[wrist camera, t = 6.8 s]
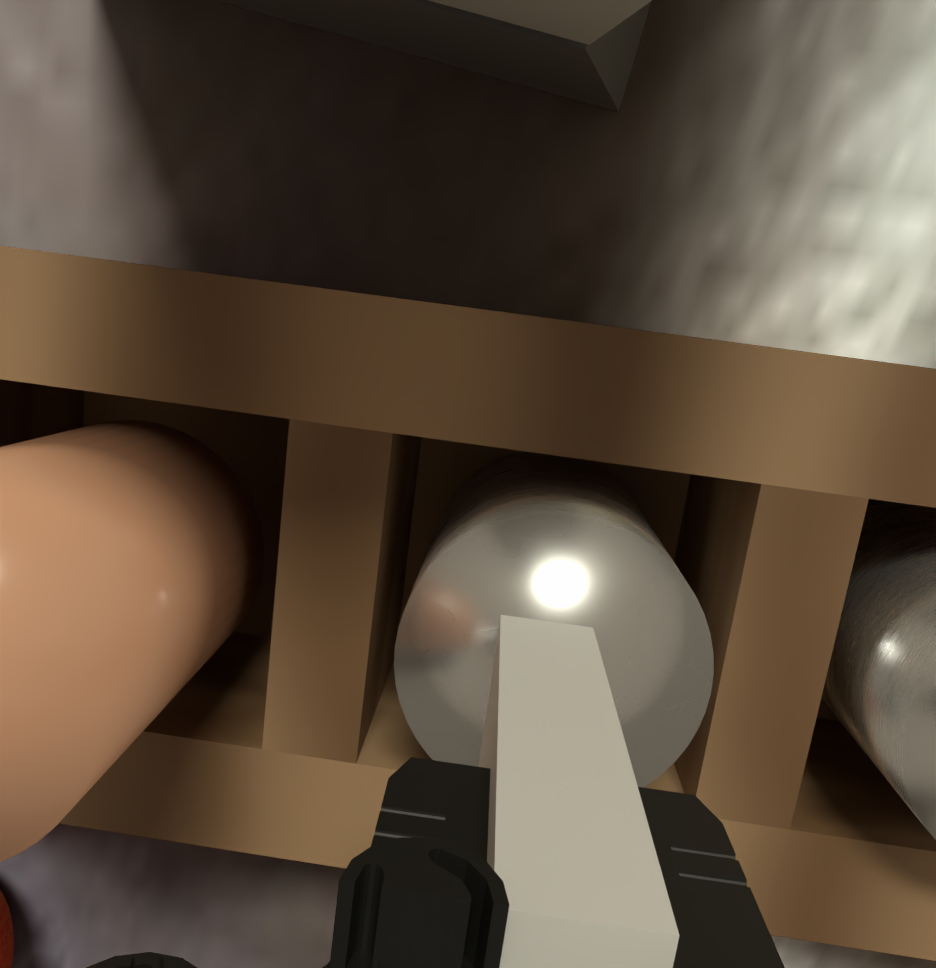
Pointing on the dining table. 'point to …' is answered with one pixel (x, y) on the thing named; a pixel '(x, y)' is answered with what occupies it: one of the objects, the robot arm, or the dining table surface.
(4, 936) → the apple
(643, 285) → the dining table surface
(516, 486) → the plug mid
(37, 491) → the plug terracotta
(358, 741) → the divided box
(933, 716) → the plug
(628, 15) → the alarm clock
